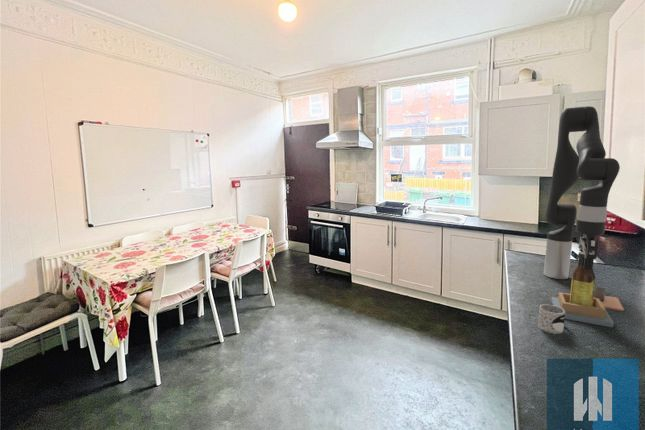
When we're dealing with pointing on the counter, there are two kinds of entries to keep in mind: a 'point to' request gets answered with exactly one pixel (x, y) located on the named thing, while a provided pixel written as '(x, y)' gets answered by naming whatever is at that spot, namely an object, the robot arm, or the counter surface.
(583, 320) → the socket stand
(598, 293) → the lid
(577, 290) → the sauce bottle
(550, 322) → the mug
